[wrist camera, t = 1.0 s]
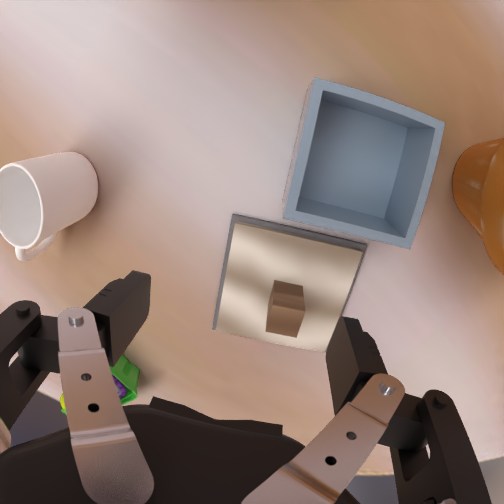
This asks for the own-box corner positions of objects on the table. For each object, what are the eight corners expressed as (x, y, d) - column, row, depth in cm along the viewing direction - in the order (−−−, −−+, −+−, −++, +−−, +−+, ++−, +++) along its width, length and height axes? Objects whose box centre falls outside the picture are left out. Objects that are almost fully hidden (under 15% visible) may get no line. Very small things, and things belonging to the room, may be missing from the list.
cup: (109, 166, 30) (50, 183, 21) (83, 255, 35) (34, 293, 25) (58, 141, 30) (-3, 151, 20) (38, 226, 34) (-14, 255, 25)
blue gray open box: (306, 90, 26) (314, 77, 20) (412, 123, 26) (445, 122, 19) (282, 199, 30) (282, 218, 24) (385, 225, 30) (409, 249, 23)
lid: (236, 221, 31) (226, 240, 25) (361, 249, 31) (375, 273, 25) (217, 326, 36) (206, 358, 30) (324, 348, 36) (328, 381, 30)
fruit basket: (151, 372, 41) (123, 431, 30) (120, 390, 43) (92, 441, 33) (94, 316, 38) (50, 367, 28) (69, 341, 41) (30, 387, 30)
